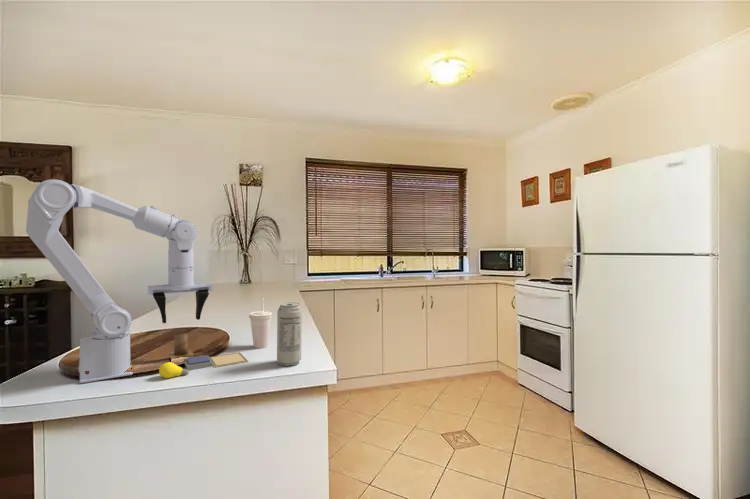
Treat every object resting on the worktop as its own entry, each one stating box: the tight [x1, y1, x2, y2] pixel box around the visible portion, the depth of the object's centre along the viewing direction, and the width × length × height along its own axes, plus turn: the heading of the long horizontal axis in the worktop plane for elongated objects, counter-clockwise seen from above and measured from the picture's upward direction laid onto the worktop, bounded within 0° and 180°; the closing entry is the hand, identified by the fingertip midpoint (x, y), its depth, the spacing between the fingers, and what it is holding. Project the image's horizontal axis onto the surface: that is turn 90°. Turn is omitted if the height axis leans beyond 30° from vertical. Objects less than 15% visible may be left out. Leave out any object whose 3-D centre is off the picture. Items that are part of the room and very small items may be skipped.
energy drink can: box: [276, 302, 303, 367], centre depth 94 cm, size 6×6×15 cm
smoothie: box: [248, 297, 273, 349], centre depth 107 cm, size 6×6×14 cm
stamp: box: [168, 333, 194, 358], centre depth 95 cm, size 5×5×6 cm
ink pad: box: [183, 354, 214, 371], centre depth 92 cm, size 6×6×1 cm
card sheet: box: [209, 351, 249, 368], centre depth 96 cm, size 8×8×1 cm
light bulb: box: [158, 361, 190, 379], centre depth 84 cm, size 3×6×4 cm, turn 117°
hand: (181, 320), depth 95 cm, fingers open, 7 cm apart
